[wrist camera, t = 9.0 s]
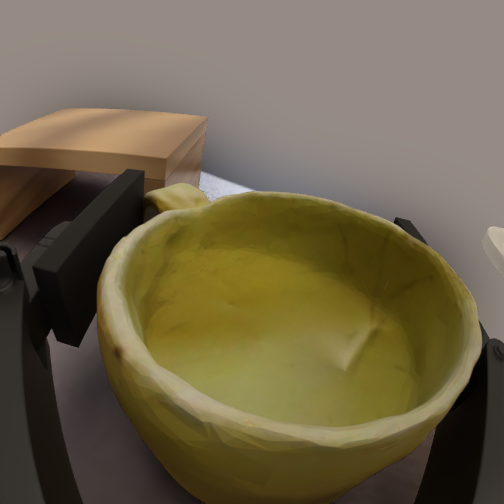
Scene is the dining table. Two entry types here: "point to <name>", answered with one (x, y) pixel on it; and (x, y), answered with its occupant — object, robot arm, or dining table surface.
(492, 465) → the robot arm
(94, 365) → the dining table surface
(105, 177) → the dining table surface
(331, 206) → the mug
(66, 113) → the shelf
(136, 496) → the dining table surface
